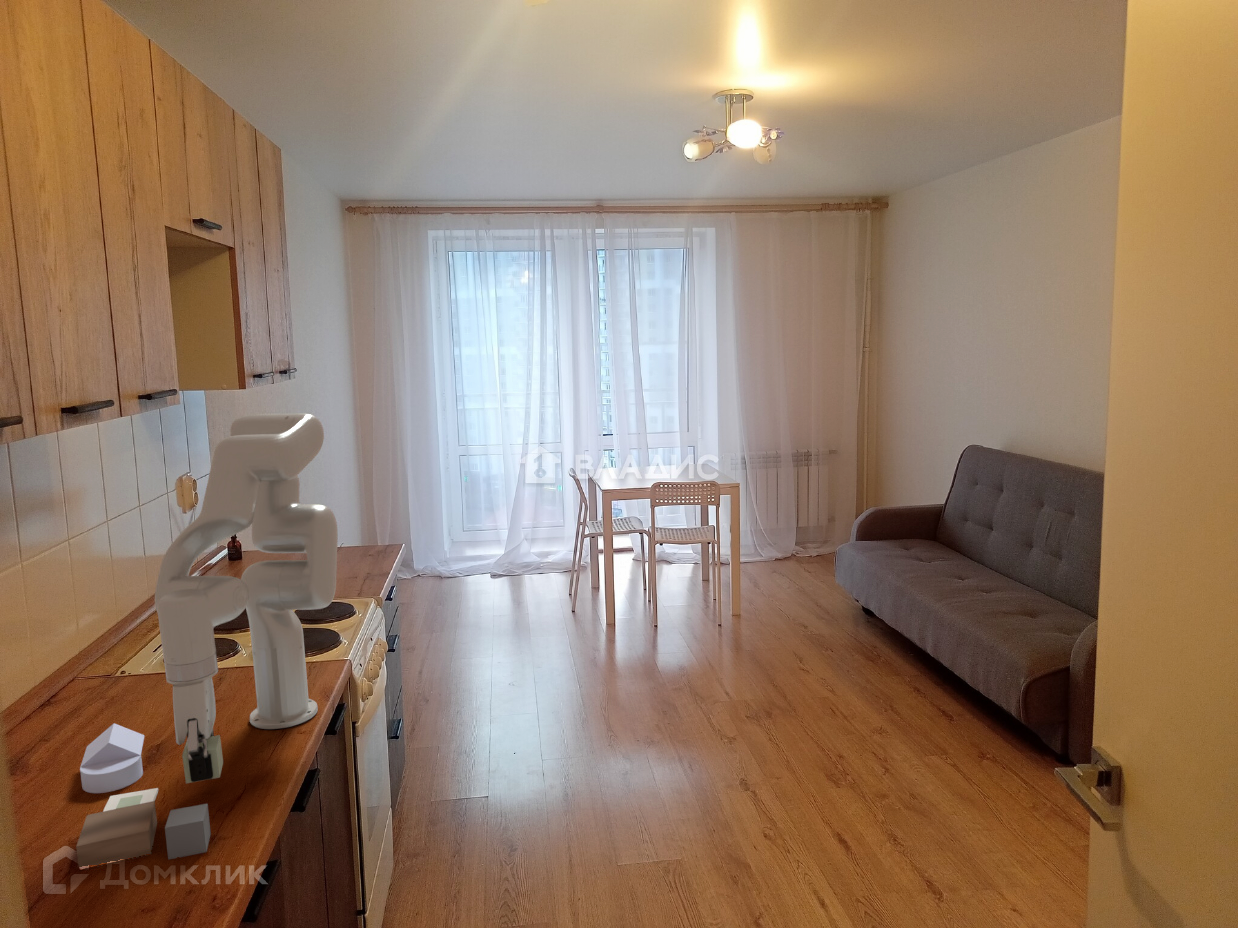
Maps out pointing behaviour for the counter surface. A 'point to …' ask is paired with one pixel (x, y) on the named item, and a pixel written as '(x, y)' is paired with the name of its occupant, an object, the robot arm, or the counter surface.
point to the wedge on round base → (112, 760)
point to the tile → (131, 799)
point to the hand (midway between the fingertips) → (204, 769)
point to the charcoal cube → (187, 831)
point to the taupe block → (117, 834)
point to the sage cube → (213, 749)
